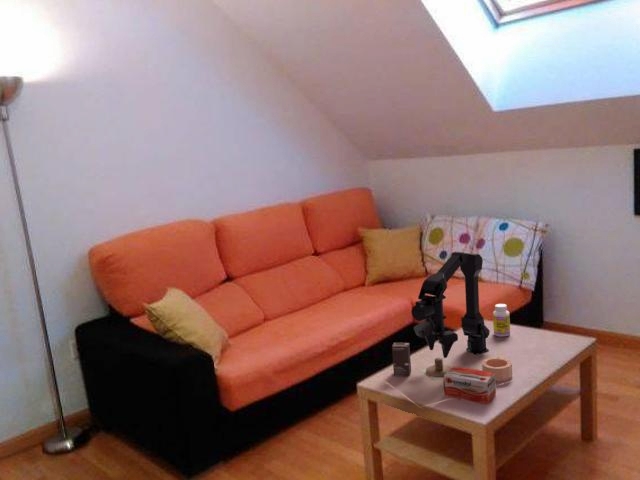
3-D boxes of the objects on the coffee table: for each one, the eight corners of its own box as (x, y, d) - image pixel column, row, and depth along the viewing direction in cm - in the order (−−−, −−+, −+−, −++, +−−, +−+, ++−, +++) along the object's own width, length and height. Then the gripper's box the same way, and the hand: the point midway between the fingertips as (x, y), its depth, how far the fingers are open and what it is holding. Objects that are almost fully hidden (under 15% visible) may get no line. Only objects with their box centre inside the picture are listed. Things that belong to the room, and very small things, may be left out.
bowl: (499, 368, 215) (499, 355, 215) (518, 377, 206) (517, 364, 205) (476, 374, 212) (476, 361, 211) (494, 384, 203) (493, 370, 202)
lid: (443, 364, 223) (442, 352, 222) (457, 373, 214) (457, 360, 213) (421, 370, 220) (420, 358, 219) (435, 379, 211) (434, 366, 210)
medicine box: (444, 397, 198) (442, 374, 196) (453, 387, 204) (452, 365, 203) (488, 405, 189) (487, 381, 188) (496, 394, 195) (495, 372, 194)
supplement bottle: (494, 337, 247) (493, 308, 244) (493, 332, 253) (491, 303, 251) (511, 336, 245) (510, 307, 243) (509, 331, 252) (507, 302, 250)
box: (393, 377, 217) (391, 346, 215) (396, 372, 222) (393, 341, 219) (410, 377, 215) (407, 346, 213) (412, 372, 220) (409, 342, 218)
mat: (443, 365, 223) (443, 364, 223) (458, 374, 214) (458, 373, 214) (420, 371, 220) (420, 370, 220) (435, 380, 211) (435, 379, 211)
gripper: (403, 311, 219) (406, 351, 222) (429, 324, 202) (433, 367, 204) (429, 305, 223) (431, 344, 225) (457, 317, 206) (460, 359, 208)
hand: (438, 353), depth 216 cm, fingers open, 9 cm apart
